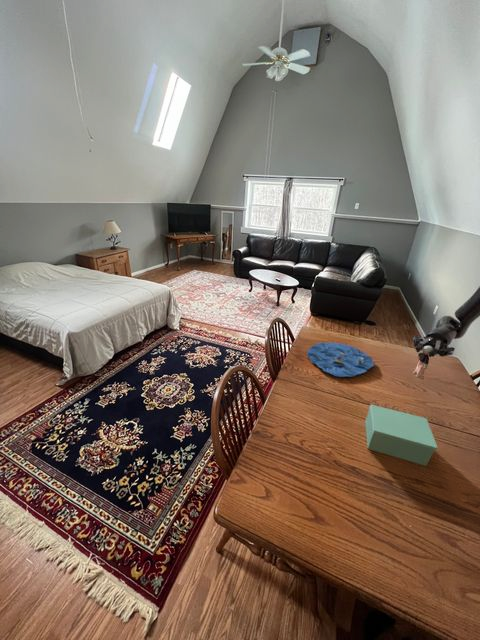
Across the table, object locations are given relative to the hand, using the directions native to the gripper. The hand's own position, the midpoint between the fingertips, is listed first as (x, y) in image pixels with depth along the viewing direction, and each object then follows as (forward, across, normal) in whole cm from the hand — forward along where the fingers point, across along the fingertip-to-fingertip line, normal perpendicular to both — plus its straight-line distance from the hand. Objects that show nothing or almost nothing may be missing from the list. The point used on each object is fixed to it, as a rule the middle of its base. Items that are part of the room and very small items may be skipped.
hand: (424, 352), depth 96 cm
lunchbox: (+27, +6, +20) cm, 34 cm away
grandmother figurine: (-3, 0, +11) cm, 12 cm away
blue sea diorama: (-1, -30, +20) cm, 36 cm away
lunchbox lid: (+27, +6, +13) cm, 31 cm away
